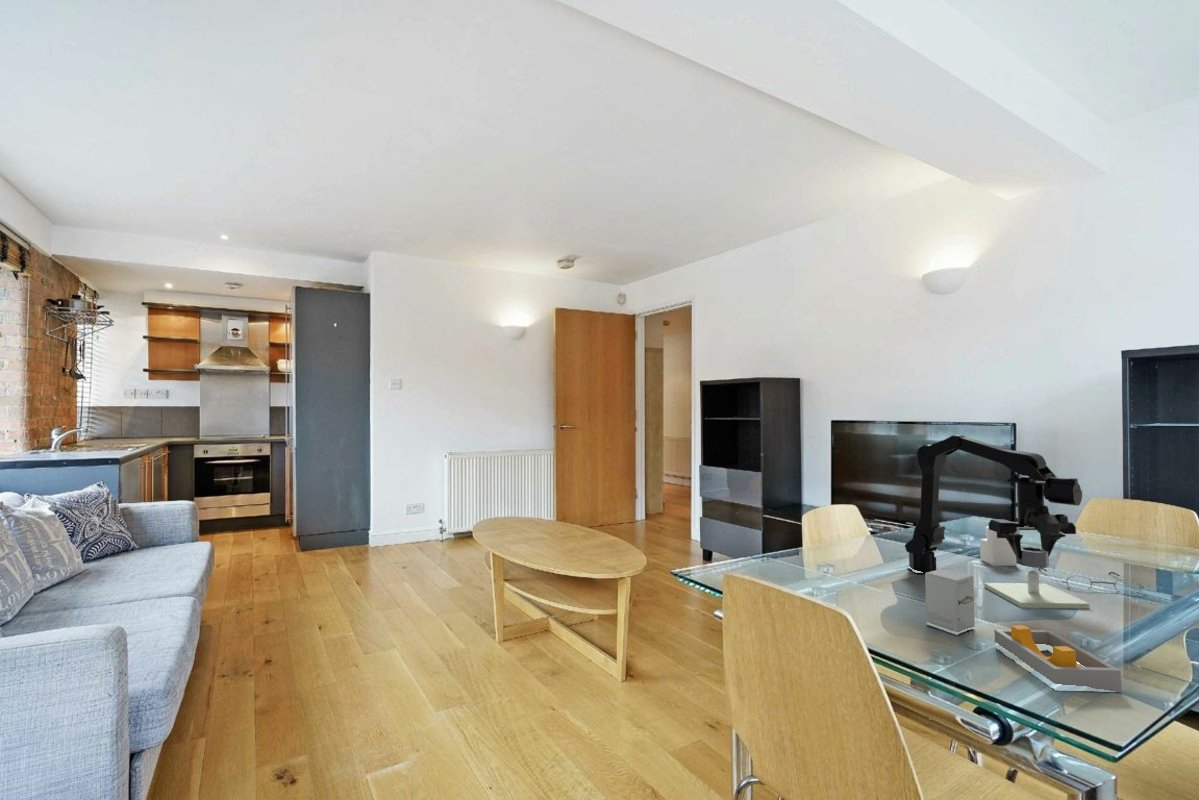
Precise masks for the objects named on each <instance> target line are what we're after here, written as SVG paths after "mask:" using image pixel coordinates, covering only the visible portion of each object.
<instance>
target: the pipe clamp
mask: <svg viewBox="0 0 1199 800" xmlns="http://www.w3.org/2000/svg"><path fill="white" fill-rule="evenodd" d="M1010 630H1011V637H1012V638H1013V639H1015V640H1016V641H1018V642H1019V643H1021V644H1023V645H1024V646H1026V647H1027V648H1029V649H1030V650H1032V651H1033V652H1035V653H1036V654H1038V655H1039V656H1041V657H1043V658H1044V659H1046V660H1047V661H1049V662H1050V663H1052V664H1053V665H1055V666H1056V667H1083V666H1081V665H1079V664H1077V663H1076V650H1074V649H1071V648H1069V647H1067V646H1056V647H1053V653H1051V656H1046V655H1044V653H1043V652H1042V651H1039V649H1038V648H1037V646H1036V645H1035V643H1034V641H1033V638H1032V635H1031V630H1032V629H1031V628H1029V627H1027V626H1025V625H1023V624H1021V625H1018V624H1017V625H1010Z"/></svg>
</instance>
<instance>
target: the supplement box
mask: <svg viewBox="0 0 1199 800" xmlns="http://www.w3.org/2000/svg"><path fill="white" fill-rule="evenodd" d="M924 577H925V579H924V581H925V582H924V583H925V587H924V588H925V619H926V620H925V622H926V621H927V622H929V623H931V624H934V625H937V626H940V627H943V628H946V629H948V630H951V631H955V632H960V631H962V630H965V629H968V628H972V627H975V628H976V626H975V625H976V624H975V619H976V617H975V616H976V615H975V587H974V586H975V585H974V583H975V582H974V575H973V574H968V573H964V572H960V571H957V570H951V569H948V568H947V569H946V568H939V569H936V570H935V571H931V572H927V573H925V574H924Z"/></svg>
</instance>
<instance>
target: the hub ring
mask: <svg viewBox="0 0 1199 800" xmlns="http://www.w3.org/2000/svg"><path fill="white" fill-rule="evenodd" d="M1049 558H1050V556H1049V555H1048V550H1045V549H1042V547H1037V546H1036V547H1034V546H1027V545H1026V546H1022V545H1021V559H1018V558H1017V557H1016V564H1018V565H1020V566H1023V567H1028V568H1033V569H1039V568H1043V569H1046V568H1048V567H1049V566H1050V564H1049V563H1050V561H1049V560H1050V559H1049Z"/></svg>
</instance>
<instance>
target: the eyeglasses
mask: <svg viewBox="0 0 1199 800" xmlns="http://www.w3.org/2000/svg"><path fill="white" fill-rule="evenodd" d="M1037 569H1038V570H1039V571H1040V570H1043V572H1047V573H1048V574H1050V575H1052V576H1053V577H1055V578H1056V579H1058V580H1059V581H1061V582H1062V583H1063V584H1065V583H1066V587H1068V588H1069V589H1071V587H1070V586H1069V584H1068V580H1070V578H1074V575H1071V576H1068V577H1067V578H1066V580H1062V579H1060V578H1059V577H1057V576H1056V575H1054V574H1052V573H1051V572H1049V571H1048V570H1046V568H1037ZM1108 573H1109V574H1108V575H1111V574H1113V575H1115V576H1117V577H1120V579H1116V580H1115V581H1114V582H1112V581H1111V582H1110V581H1098V580H1097V581H1095V580H1093V581H1092V580H1091V579H1090V578H1088V577H1086V576H1082V575H1079V577H1080V578H1081V577H1082V578H1086V579H1088V580H1089V582H1090V586H1089V587H1088V588H1087V590H1090V589H1091V588H1092V587H1093V584H1104V585H1105V584H1106V585H1113V587H1114V589H1115V590H1116V591H1117V590H1118V589H1117V587H1116V584H1117V582H1119V581H1121V580H1125V581H1126V580H1127V581H1129V582H1131V583H1132V584H1134V585H1137V586H1139V588H1138V589H1139V590H1138V591H1140V592H1141V591H1142V589H1145V586H1143V585H1141V584H1140V582H1139V581H1136V580H1135V579H1131V578H1125V577H1123V576H1121V575H1120V574H1118V573H1117V572H1114V571H1110V572H1108ZM1133 581H1134V582H1133ZM1135 582H1136V583H1135Z"/></svg>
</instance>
